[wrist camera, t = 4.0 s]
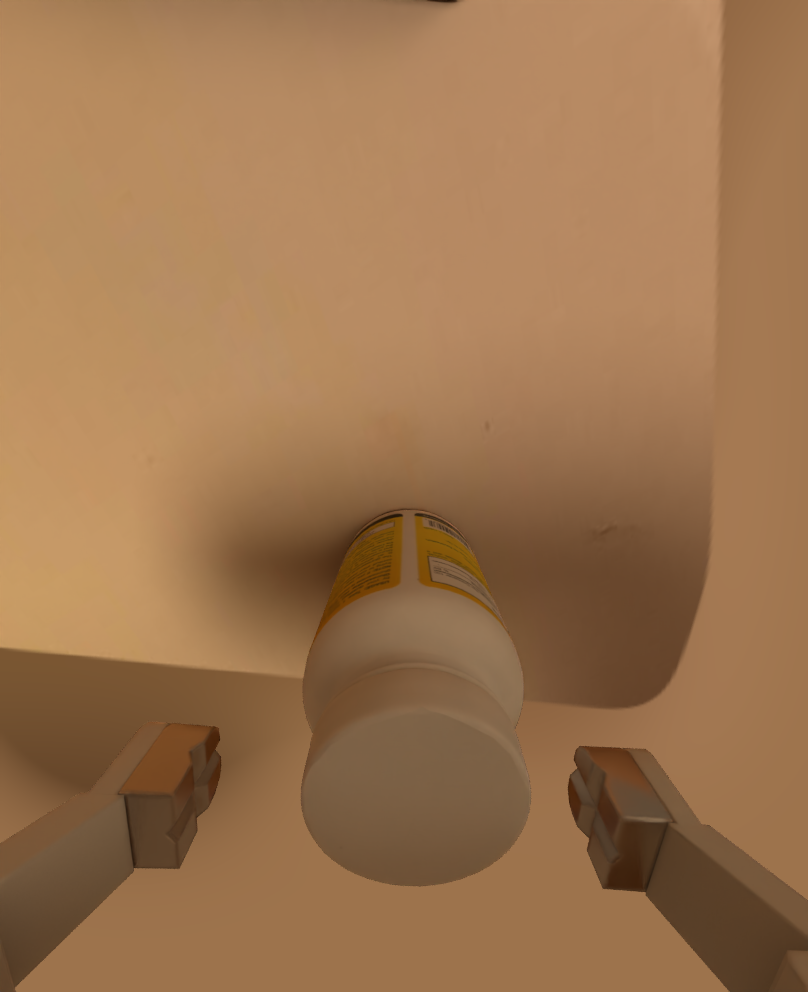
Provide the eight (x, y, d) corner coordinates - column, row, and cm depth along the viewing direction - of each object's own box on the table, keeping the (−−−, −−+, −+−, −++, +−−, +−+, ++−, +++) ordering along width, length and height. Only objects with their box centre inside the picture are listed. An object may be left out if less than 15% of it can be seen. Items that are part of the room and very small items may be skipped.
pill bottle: (348, 627, 19) (274, 917, 8) (340, 507, 18) (238, 678, 7) (473, 625, 19) (558, 915, 8) (476, 504, 18) (584, 672, 7)
